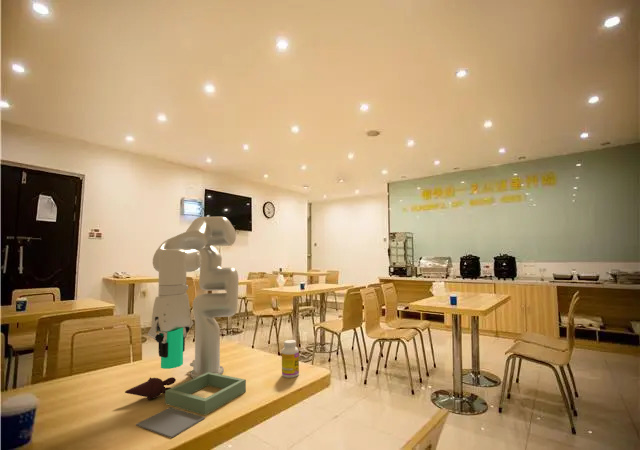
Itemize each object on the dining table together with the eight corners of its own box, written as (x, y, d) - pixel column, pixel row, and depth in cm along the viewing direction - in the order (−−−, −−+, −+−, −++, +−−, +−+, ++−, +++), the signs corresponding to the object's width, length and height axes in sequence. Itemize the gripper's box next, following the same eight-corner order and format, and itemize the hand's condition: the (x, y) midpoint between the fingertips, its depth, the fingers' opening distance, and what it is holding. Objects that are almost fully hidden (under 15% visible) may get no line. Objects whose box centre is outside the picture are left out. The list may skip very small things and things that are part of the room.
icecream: (126, 388, 101) (177, 382, 109) (126, 375, 108) (175, 370, 115) (123, 409, 102) (174, 401, 110) (124, 394, 108) (172, 388, 116)
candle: (187, 362, 96) (187, 321, 97) (172, 369, 90) (172, 325, 91) (171, 360, 98) (172, 320, 99) (155, 367, 92) (156, 324, 93)
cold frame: (165, 403, 104) (165, 390, 105) (208, 383, 120) (208, 371, 120) (205, 415, 96) (205, 401, 96) (245, 391, 112) (245, 379, 112)
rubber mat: (136, 425, 91) (136, 423, 91) (170, 408, 101) (170, 407, 101) (171, 438, 84) (171, 436, 84) (204, 418, 94) (204, 417, 94)
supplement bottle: (296, 378, 122) (295, 343, 123) (279, 378, 123) (279, 343, 124) (301, 372, 128) (300, 339, 129) (285, 371, 130) (284, 338, 131)
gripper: (187, 287, 105) (187, 344, 103) (137, 293, 90) (135, 361, 89) (204, 287, 102) (204, 347, 100) (154, 294, 87) (153, 365, 85)
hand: (171, 353), depth 94 cm, fingers closed on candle, 4 cm apart
